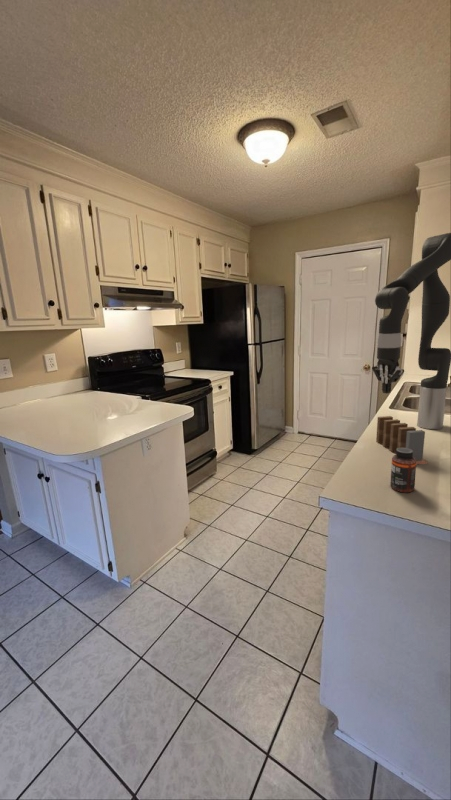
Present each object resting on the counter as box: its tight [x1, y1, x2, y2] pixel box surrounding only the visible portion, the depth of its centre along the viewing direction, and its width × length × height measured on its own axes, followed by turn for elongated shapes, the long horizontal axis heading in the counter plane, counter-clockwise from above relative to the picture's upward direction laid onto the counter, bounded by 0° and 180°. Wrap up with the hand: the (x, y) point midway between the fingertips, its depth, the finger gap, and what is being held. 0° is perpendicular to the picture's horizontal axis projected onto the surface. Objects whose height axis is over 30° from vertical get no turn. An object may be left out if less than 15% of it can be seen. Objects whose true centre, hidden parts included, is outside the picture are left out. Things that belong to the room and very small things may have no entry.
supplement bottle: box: [389, 448, 417, 493], centre depth 90 cm, size 6×6×11 cm
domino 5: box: [406, 429, 426, 461], centre depth 106 cm, size 2×5×10 cm, turn 94°
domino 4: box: [397, 426, 417, 448], centre depth 110 cm, size 2×5×10 cm, turn 94°
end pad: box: [416, 459, 428, 465], centre depth 107 cm, size 5×6×1 cm
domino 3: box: [388, 422, 409, 453], centre depth 115 cm, size 2×5×10 cm, turn 94°
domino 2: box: [382, 418, 401, 449], centre depth 119 cm, size 2×5×10 cm, turn 94°
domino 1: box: [376, 415, 394, 444], centre depth 124 cm, size 2×5×10 cm, turn 94°
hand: (386, 392), depth 122 cm, fingers closed
